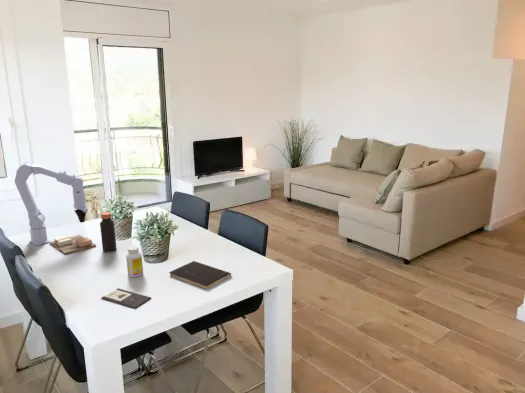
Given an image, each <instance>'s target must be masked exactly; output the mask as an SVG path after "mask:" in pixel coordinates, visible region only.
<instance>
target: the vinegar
mask: <svg viewBox="0 0 525 393" xmlns="http://www.w3.org/2000/svg"><path fill="white" fill-rule="evenodd" d="M100 219H101V221H100V222H99V228H100V236H101V245H102V251H103V252H105V253H112V252H115V251H116V250H117V241H116V231H115V221H114V220H112V212H110V211H104V212H101V213H100Z"/></svg>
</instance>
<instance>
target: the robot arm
mask: <svg viewBox="0 0 525 393" xmlns="http://www.w3.org/2000/svg"><path fill="white" fill-rule="evenodd" d="M15 173H16V174H15V177H14V185H15V186H16V189H17V191H18V192H19V195H20V197H21V200H22V203H23V205H24V207H25V209H26V211H27V218H28V220H29V222H28V224H29V226H30V229H29V233H30V240H29V243H30V244H32V245H33V246H35V247H37V246H40V245H44V244H48V243H49V244H50V242H51V240H49V239H48V234H47V228H46V224H45V220H46V218H45V215H44V214H43V213H42V212H41V211H40V209H39V208H38V206H37V204H36V202H35V199H34V197H33V195H32V192H31V189H30V187H29V185H28V183H27V180H28V179H29V177H30V176H31V175H32V176H35V175H38V174H39V175H44V176H47V177H51V178H54V179H56V181H57V182H58V183H62V184H64V185H67V186H70V187H71V188H72V196H73V198H72V199H73V208H74V209H75V210H74V213H75V214H76V216H77V219H78V221H79V222H80V223H85V222H86V221H85V220H86V214H87V213H88V208H87V207H89V205H88V204H86V196H85V190H84V179H83V178H82V177H81V176H79V175H75V174H73V175H72V174H71V173H68V172H67V171H65V170H64V171H63V170H62V171H55V170H53V169H50V168H48V167H45V166H42V165H40V164H37V163H33V162H30V161H26V162H24V163H22V165H20V166H19V167H18V168H17V170H16V172H15Z"/></svg>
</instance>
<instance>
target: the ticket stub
mask: <svg viewBox="0 0 525 393" xmlns="http://www.w3.org/2000/svg"><path fill="white" fill-rule="evenodd" d="M92 243H93V242H92V239H91V238H89V237H88V236H87V237H84V238H81V239H77V240H76V244H77V245H78V246H80V247H83V246H87V245H91V244H92Z"/></svg>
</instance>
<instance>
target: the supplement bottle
mask: <svg viewBox="0 0 525 393" xmlns="http://www.w3.org/2000/svg"><path fill="white" fill-rule="evenodd" d="M139 248H140V247H139V246H136V245H134V246H132V245H131V246H129V247H127V253H126V258H125V259H126V268H127V276H128V277H131V278H137V277H141V276H142V275H143V274H144V267H143V257H142V256H143V255H142V253H141V252H140V250H139Z"/></svg>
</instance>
